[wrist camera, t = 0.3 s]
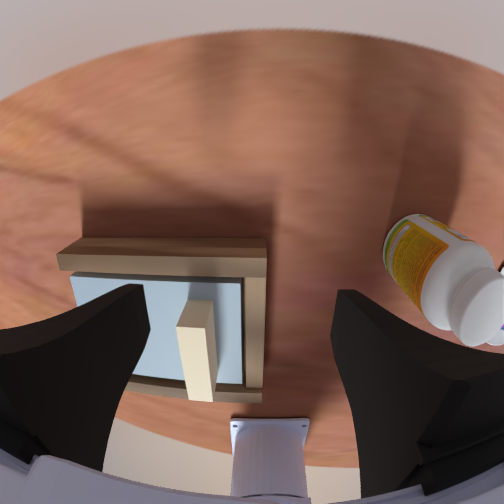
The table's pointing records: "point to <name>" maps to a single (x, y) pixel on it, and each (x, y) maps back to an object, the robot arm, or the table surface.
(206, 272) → the box
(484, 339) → the supplement bottle
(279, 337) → the table surface
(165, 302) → the lid
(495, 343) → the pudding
